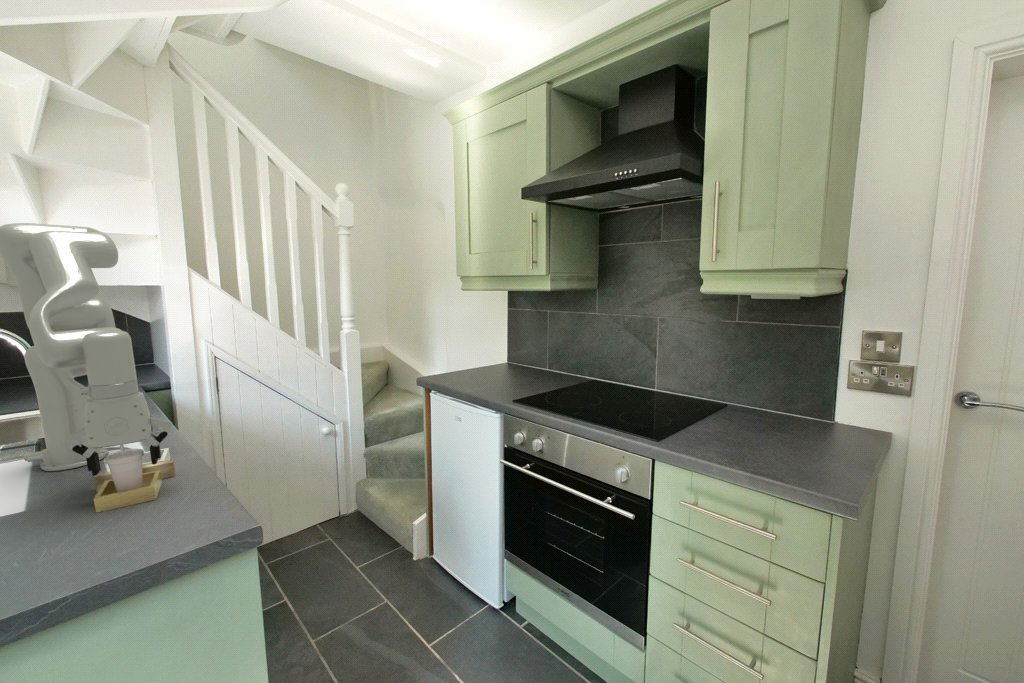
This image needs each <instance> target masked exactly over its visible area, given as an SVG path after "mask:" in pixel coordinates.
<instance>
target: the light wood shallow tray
mask: <svg viewBox="0 0 1024 683" xmlns="http://www.w3.org/2000/svg"><path fill="white" fill-rule="evenodd" d="M162 483H163V479H162V478H161V471H160V470H158V471H153V472H148V473H142V488H137V489H132V490H128V491H123V492H117V490H116V487H115V484H114V481H113V479H111V480H106V481H105V482H104V483H103V485H102V486H101V488H100V490H99V491H98V492H96V494H95V496H94V497H93V505H94V508H95V513H96V514H98V513H102V512H106V511H111V510H115V509H119V508H125V507H128V506H133V505H139V504H141V503H145V502H152V501H155V500H157V498H158V495H159V492H160V489H161V487H162Z"/></svg>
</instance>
